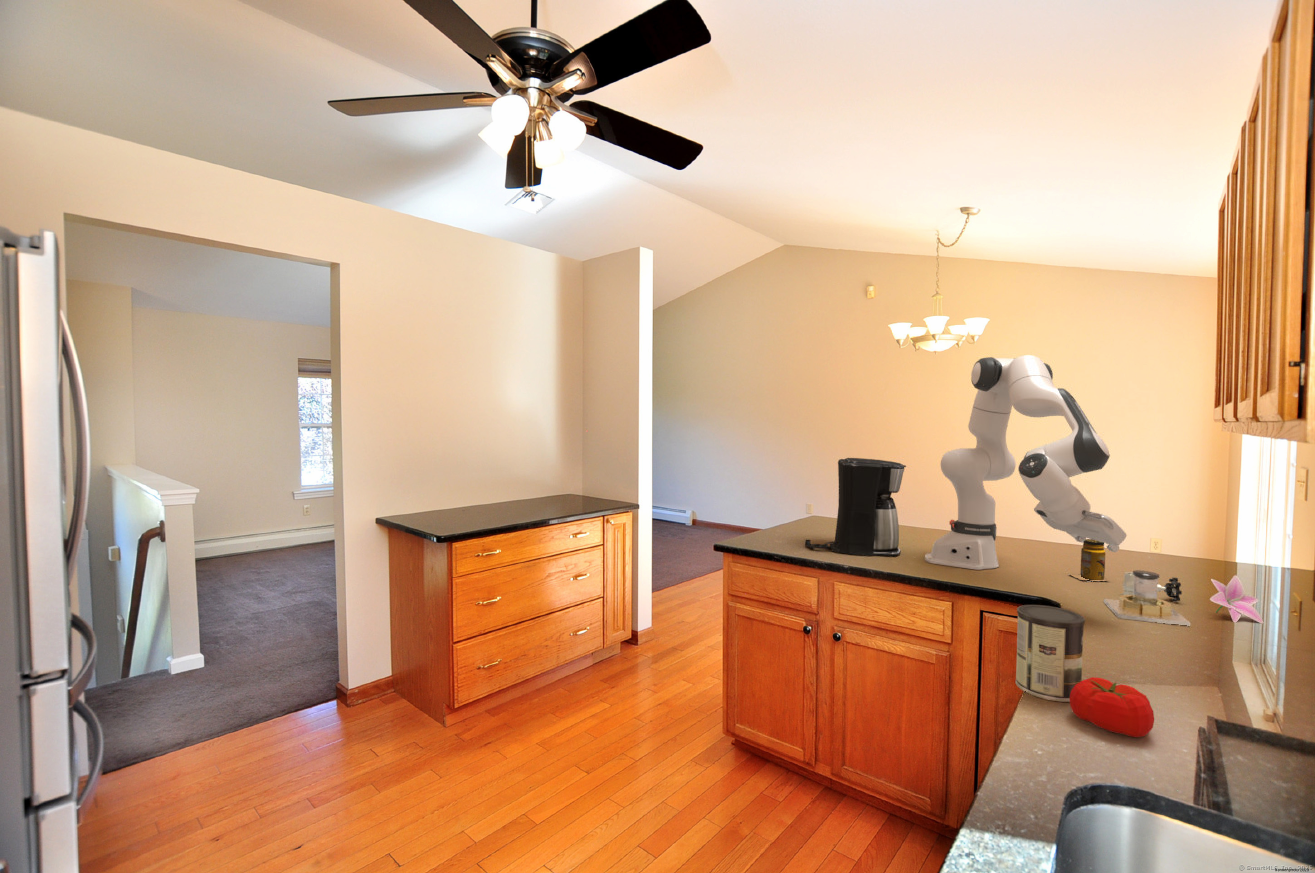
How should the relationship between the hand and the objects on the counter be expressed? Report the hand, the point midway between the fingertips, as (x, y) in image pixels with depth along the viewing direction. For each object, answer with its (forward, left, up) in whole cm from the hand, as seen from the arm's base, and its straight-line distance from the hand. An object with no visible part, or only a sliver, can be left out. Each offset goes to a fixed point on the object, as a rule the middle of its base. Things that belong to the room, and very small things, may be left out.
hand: (1098, 544), depth 154 cm
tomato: (-12, -69, -17) cm, 72 cm away
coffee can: (-19, -58, -17) cm, 63 cm away
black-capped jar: (+11, +3, -16) cm, 20 cm away
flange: (+11, +3, -17) cm, 21 cm away
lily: (+30, +10, -17) cm, 36 cm away
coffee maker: (-64, +48, -17) cm, 82 cm away
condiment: (+6, +37, -17) cm, 42 cm away
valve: (+16, +20, -18) cm, 31 cm away
